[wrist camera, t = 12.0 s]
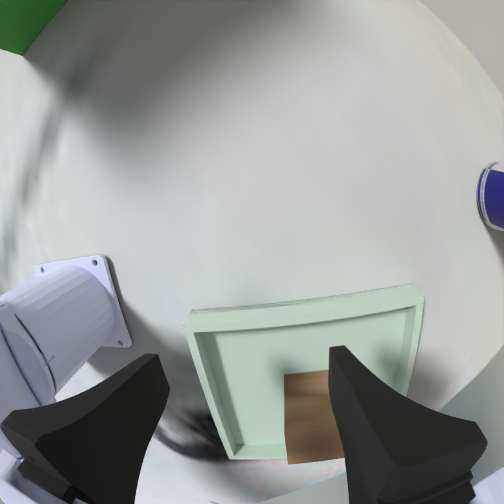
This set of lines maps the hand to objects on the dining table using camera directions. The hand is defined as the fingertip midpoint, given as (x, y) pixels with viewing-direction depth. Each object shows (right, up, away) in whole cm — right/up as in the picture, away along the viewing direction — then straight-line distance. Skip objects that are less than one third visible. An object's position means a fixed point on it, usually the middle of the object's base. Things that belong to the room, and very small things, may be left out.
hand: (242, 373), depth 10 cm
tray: (+5, -6, +10) cm, 13 cm away
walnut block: (+5, -6, +9) cm, 12 cm away
